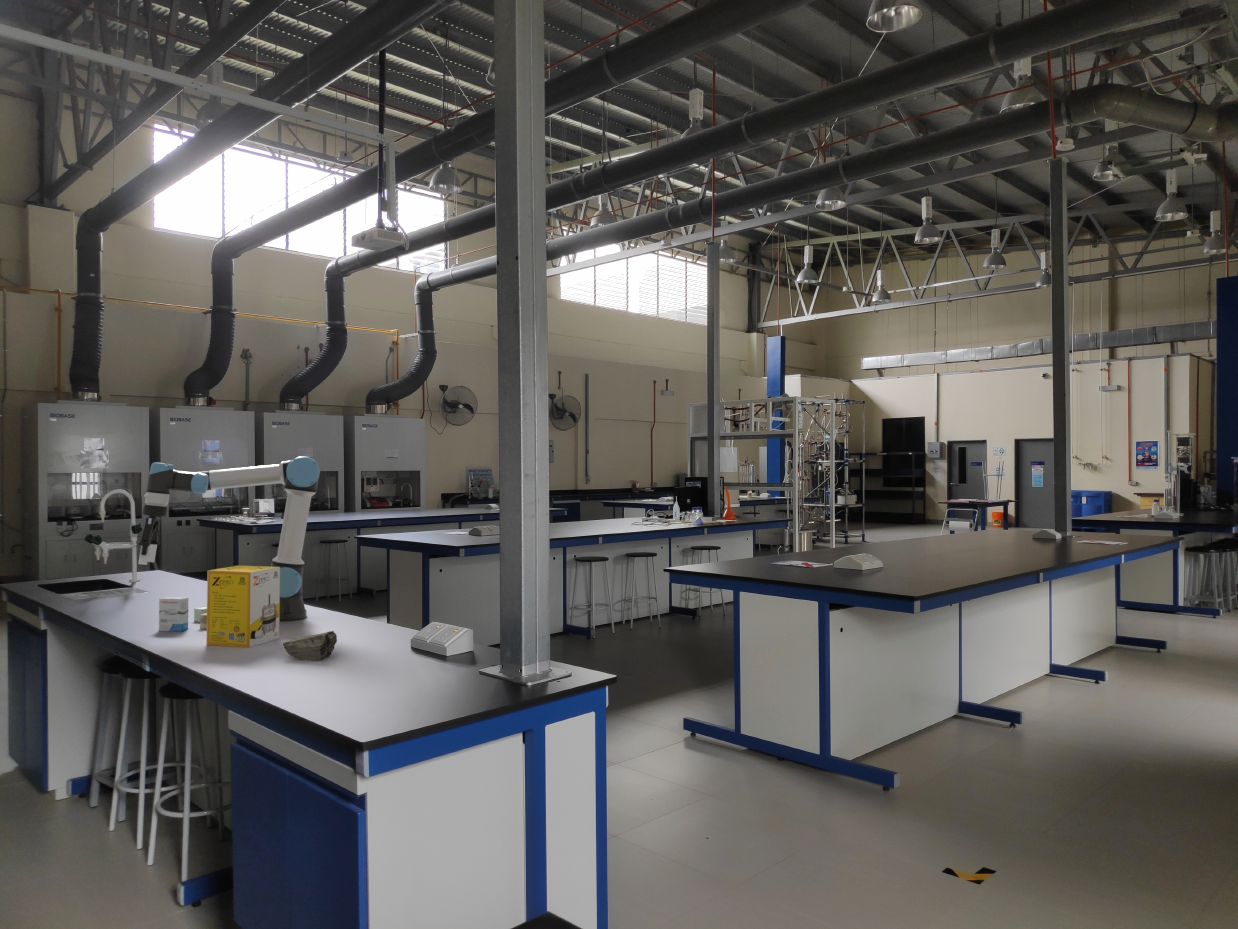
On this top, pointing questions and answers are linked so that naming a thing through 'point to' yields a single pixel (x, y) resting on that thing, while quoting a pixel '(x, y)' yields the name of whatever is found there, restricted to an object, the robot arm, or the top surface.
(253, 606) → the packaging box
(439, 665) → the top surface
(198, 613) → the sage cube
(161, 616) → the ink box
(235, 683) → the top surface
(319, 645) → the concrete fragment
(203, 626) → the birch cube
